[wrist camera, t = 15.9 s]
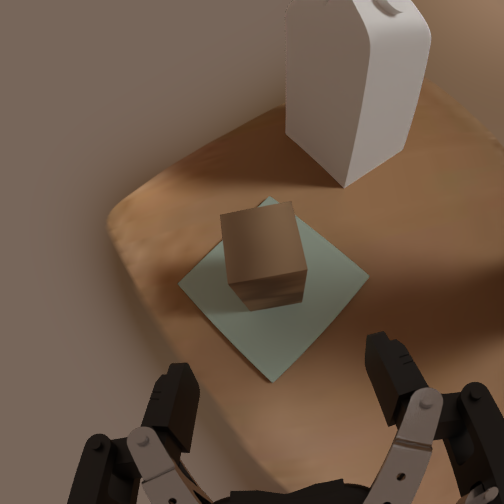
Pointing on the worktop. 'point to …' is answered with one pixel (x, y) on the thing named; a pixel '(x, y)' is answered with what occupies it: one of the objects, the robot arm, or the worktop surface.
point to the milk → (353, 80)
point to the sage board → (278, 318)
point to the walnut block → (264, 256)
